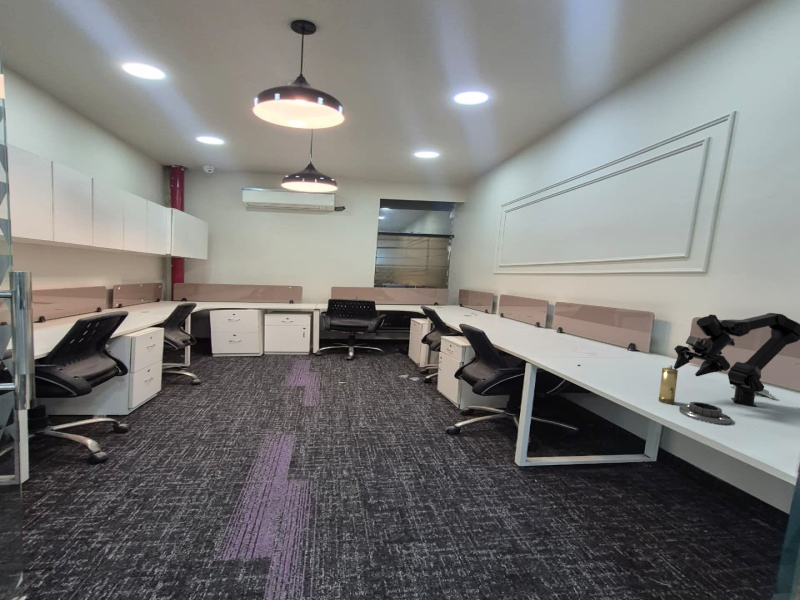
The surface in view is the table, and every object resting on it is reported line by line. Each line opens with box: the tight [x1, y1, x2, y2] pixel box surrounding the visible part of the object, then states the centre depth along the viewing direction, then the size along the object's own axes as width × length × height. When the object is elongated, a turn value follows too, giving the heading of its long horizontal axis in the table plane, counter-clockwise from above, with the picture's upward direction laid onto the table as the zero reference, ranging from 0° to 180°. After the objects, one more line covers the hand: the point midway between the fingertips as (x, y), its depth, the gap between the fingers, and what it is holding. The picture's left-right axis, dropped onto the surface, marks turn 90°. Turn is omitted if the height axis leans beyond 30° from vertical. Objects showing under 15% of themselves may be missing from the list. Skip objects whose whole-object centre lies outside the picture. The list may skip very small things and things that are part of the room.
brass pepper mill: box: [658, 364, 679, 405], centre depth 136 cm, size 5×5×14 cm
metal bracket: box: [730, 385, 779, 401], centre depth 155 cm, size 14×6×15 cm
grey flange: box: [678, 401, 733, 426], centre depth 124 cm, size 14×14×4 cm
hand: (684, 371), depth 137 cm, fingers open, 9 cm apart
